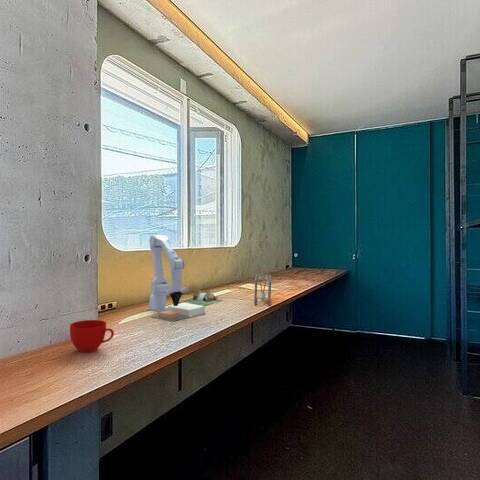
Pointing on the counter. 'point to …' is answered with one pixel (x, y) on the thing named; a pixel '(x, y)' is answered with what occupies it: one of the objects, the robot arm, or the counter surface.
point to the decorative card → (202, 298)
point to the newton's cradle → (262, 293)
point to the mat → (170, 319)
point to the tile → (169, 314)
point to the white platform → (187, 309)
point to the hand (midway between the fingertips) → (175, 305)
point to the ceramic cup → (88, 334)
